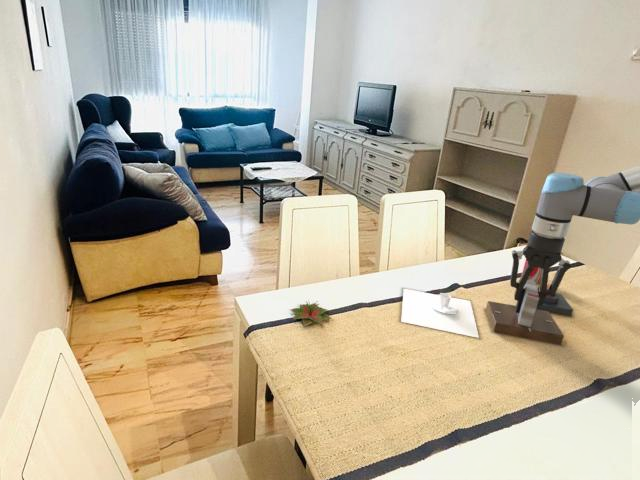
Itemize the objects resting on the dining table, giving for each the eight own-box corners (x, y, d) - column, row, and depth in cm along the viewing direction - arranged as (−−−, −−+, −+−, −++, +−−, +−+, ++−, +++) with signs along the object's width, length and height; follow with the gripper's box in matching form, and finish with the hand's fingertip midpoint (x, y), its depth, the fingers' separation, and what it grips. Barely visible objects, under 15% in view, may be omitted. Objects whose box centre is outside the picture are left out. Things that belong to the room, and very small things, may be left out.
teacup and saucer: (458, 318, 110) (461, 306, 109) (429, 312, 113) (431, 300, 111) (456, 303, 118) (458, 291, 117) (428, 298, 121) (431, 286, 119)
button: (551, 292, 120) (553, 286, 119) (555, 298, 116) (557, 292, 116) (536, 289, 121) (538, 283, 120) (540, 295, 117) (542, 290, 117)
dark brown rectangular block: (544, 318, 112) (547, 308, 111) (562, 347, 100) (565, 337, 98) (484, 307, 117) (487, 298, 116) (494, 334, 104) (496, 324, 103)
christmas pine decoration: (281, 310, 111) (282, 296, 110) (316, 301, 117) (317, 287, 115) (302, 333, 101) (303, 318, 100) (340, 322, 107) (341, 307, 105)
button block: (559, 299, 123) (563, 288, 121) (571, 316, 114) (575, 304, 112) (517, 292, 126) (520, 282, 125) (525, 308, 117) (529, 297, 116)
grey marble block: (516, 306, 112) (524, 278, 109) (527, 309, 111) (536, 281, 107) (518, 324, 103) (527, 294, 100) (530, 327, 102) (539, 297, 99)
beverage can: (516, 276, 137) (525, 245, 133) (529, 274, 138) (538, 244, 134) (532, 285, 131) (541, 253, 127) (545, 283, 133) (555, 251, 129)
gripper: (513, 232, 99) (492, 310, 107) (589, 245, 92) (560, 328, 100) (512, 223, 105) (492, 298, 113) (583, 235, 98) (556, 314, 106)
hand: (524, 312), depth 107 cm, fingers closed on grey marble block, 3 cm apart
